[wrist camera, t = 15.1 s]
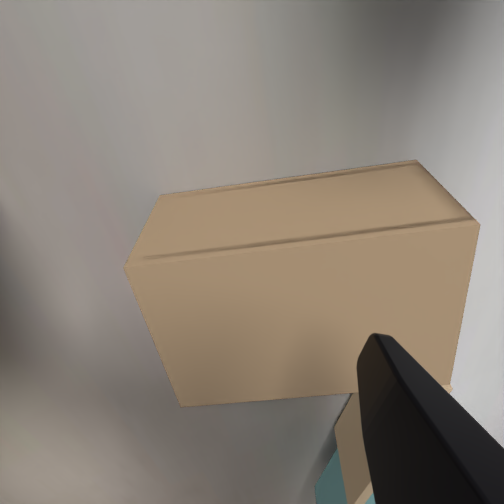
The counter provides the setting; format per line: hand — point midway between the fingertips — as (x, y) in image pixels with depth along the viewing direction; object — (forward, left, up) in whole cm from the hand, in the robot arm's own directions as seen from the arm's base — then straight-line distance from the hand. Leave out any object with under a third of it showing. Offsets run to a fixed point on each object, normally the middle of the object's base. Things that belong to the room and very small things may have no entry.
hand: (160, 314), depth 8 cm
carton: (+3, -6, -11) cm, 13 cm away
